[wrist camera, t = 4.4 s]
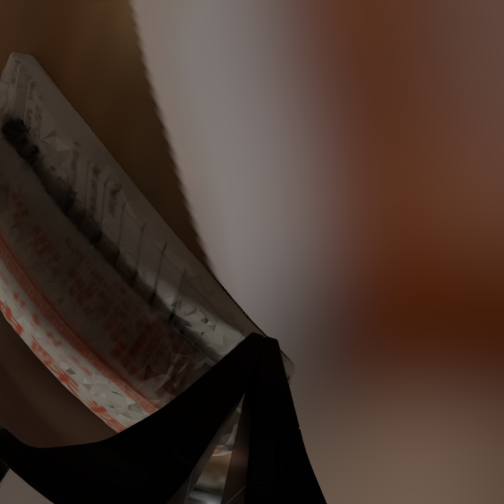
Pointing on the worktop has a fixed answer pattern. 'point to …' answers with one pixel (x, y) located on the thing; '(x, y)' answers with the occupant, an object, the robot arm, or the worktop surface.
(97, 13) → the worktop surface
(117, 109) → the worktop surface
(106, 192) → the packaged product
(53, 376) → the brown piece
